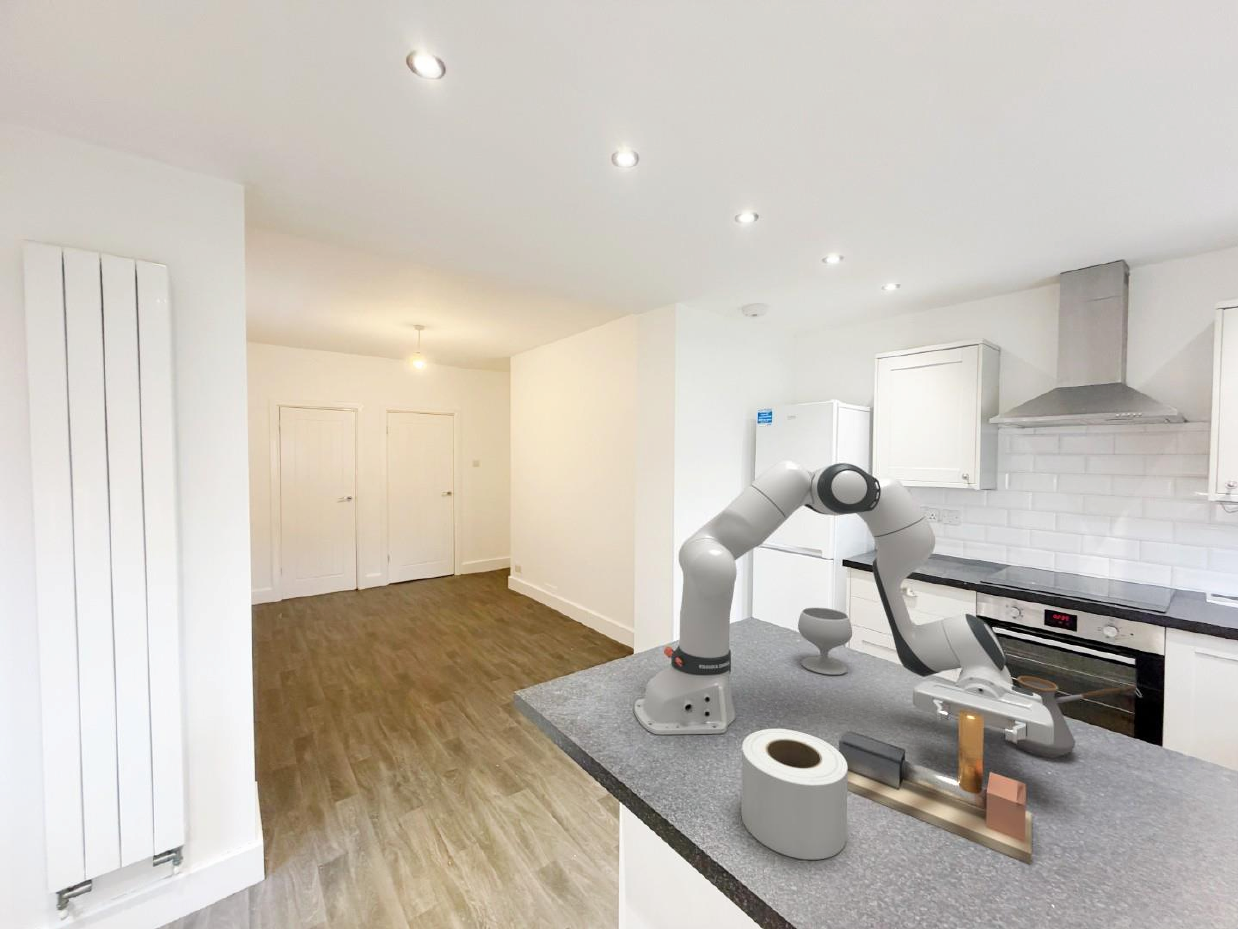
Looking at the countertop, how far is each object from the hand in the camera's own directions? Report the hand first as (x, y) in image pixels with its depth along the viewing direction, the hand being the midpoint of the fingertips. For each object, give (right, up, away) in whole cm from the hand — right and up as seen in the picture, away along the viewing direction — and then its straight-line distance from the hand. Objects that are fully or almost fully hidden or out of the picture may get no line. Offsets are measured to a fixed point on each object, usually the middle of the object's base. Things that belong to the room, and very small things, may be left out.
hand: (975, 726), depth 83 cm
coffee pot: (+29, -13, +15) cm, 35 cm away
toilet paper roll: (-33, -12, -6) cm, 36 cm away
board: (-9, -12, -1) cm, 15 cm away
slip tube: (-6, -10, -3) cm, 12 cm away
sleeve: (-15, -10, +4) cm, 19 cm away
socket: (-1, -11, -8) cm, 13 cm away
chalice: (-3, -13, +55) cm, 56 cm away
